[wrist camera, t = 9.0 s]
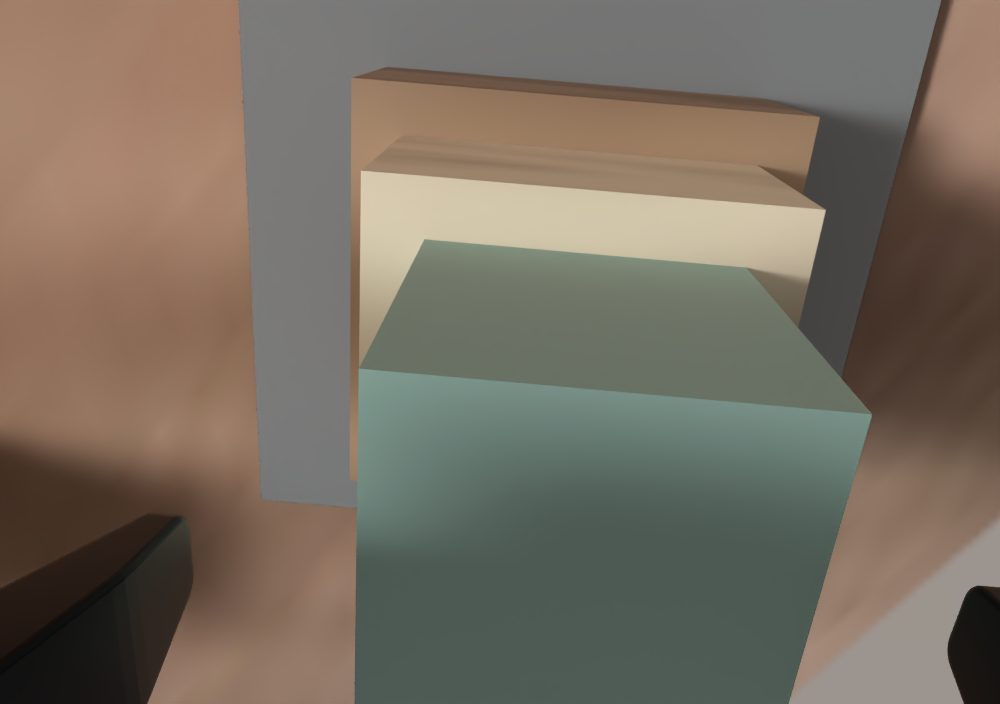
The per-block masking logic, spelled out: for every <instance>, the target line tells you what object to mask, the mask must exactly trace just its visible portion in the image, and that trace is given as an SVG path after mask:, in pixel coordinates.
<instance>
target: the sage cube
mask: <svg viewBox="0 0 1000 704" xmlns="http://www.w3.org/2000/svg"><path fill="white" fill-rule="evenodd" d="M871 417H872V414H871V412H870V411H869V410H868V409H867V408H866V407H865V405H864V404H863V403H862V402H861V401H860V400H859V398H858V397H857V396H856V395H855V394H854V393H853V391H852V390H851V389H850V388H849V387H848V386H847V384H846V383H845V382H844V381H843V380H842V379H841V377H840V376H839V375H838V374H837V373H836V372H835V370H834V369H833V368H832V367H831V366H830V365H829V363H828V362H827V361H826V360H825V359H824V358H823V356H822V355H821V354H820V353H819V352H818V351H817V349H816V348H815V347H814V346H813V345H812V344H811V342H810V341H809V340H808V339H807V338H806V337H805V335H804V334H803V333H802V332H801V331H800V330H799V328H798V327H797V326H796V325H795V324H794V323H793V321H792V320H791V319H790V318H789V317H788V316H787V314H786V313H785V312H784V311H783V310H782V309H781V307H780V306H779V305H778V304H777V303H776V302H775V300H774V299H773V298H772V297H771V296H770V295H769V293H768V292H767V291H766V290H765V289H764V288H763V286H762V285H761V284H760V283H759V282H758V281H757V279H756V278H755V277H754V276H753V275H752V274H751V273H750V271H749V270H748V269H747V268H745V267H734V266H723V265H711V264H700V263H688V262H677V261H666V260H654V259H643V258H632V257H620V256H609V255H598V254H586V253H575V252H564V251H552V250H541V249H530V248H518V247H507V246H495V245H484V244H473V243H461V242H450V241H439V240H427V239H424V241H423V243H422V245H421V247H420V249H419V251H418V253H417V255H416V257H415V259H414V261H413V263H412V265H411V267H410V269H409V271H408V273H407V274H406V276H405V278H404V280H403V282H402V284H401V286H400V288H399V290H398V292H397V294H396V296H395V298H394V300H393V302H392V304H391V306H390V308H389V310H388V312H387V314H386V316H385V318H384V320H383V322H382V324H381V326H380V328H379V330H378V332H377V334H376V336H375V338H374V340H373V342H372V344H371V346H370V347H369V349H368V351H367V353H366V355H365V357H364V359H363V361H362V363H361V365H360V367H359V389H358V470H357V550H356V631H355V704H788V703H789V700H790V697H791V693H792V690H793V686H794V683H795V679H796V676H797V672H798V669H799V666H800V662H801V659H802V655H803V652H804V648H805V645H806V641H807V638H808V635H809V631H810V628H811V624H812V621H813V617H814V614H815V610H816V607H817V604H818V600H819V597H820V593H821V590H822V586H823V583H824V579H825V576H826V573H827V569H828V566H829V562H830V559H831V555H832V552H833V548H834V545H835V541H836V538H837V535H838V531H839V528H840V524H841V521H842V517H843V514H844V510H845V507H846V504H847V500H848V497H849V493H850V490H851V486H852V483H853V479H854V476H855V473H856V469H857V466H858V462H859V459H860V455H861V452H862V448H863V445H864V442H865V438H866V435H867V431H868V428H869V424H870V421H871Z"/></svg>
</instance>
